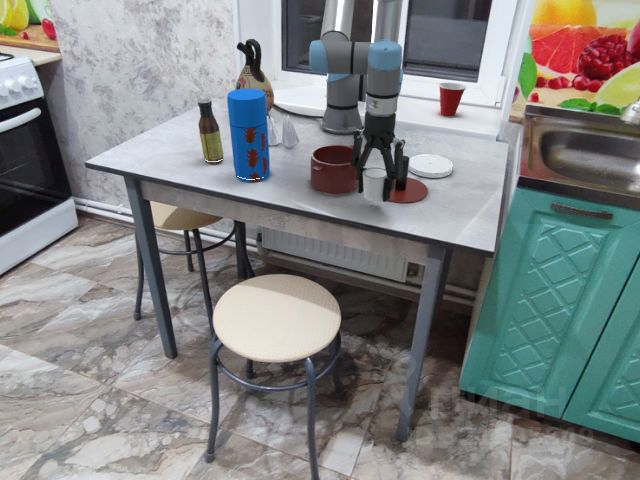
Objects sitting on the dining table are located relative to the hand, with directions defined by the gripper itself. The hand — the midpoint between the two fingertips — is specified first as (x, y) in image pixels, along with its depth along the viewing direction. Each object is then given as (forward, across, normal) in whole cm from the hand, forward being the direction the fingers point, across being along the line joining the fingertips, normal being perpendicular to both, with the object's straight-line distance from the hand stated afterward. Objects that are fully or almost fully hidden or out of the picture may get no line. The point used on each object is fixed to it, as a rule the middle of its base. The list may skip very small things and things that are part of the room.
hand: (374, 195), depth 127 cm
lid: (+4, +1, +14) cm, 14 cm away
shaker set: (+5, -48, +20) cm, 52 cm away
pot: (+5, -17, +7) cm, 19 cm away
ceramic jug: (+6, -74, +36) cm, 82 cm away
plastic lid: (+5, +2, +32) cm, 32 cm away
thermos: (+5, -41, -3) cm, 41 cm away
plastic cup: (+6, -14, +85) cm, 86 cm away
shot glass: (+1, 0, 0) cm, 1 cm away
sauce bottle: (+5, -58, -3) cm, 58 cm away
